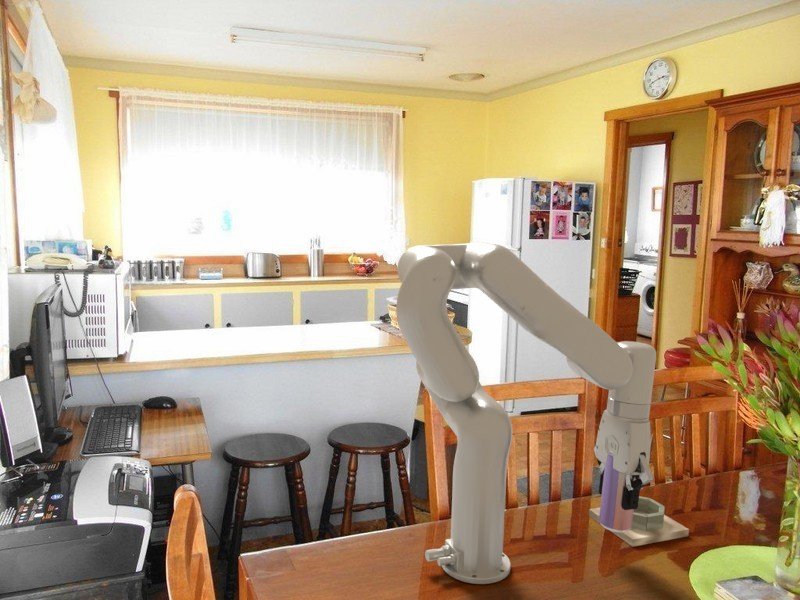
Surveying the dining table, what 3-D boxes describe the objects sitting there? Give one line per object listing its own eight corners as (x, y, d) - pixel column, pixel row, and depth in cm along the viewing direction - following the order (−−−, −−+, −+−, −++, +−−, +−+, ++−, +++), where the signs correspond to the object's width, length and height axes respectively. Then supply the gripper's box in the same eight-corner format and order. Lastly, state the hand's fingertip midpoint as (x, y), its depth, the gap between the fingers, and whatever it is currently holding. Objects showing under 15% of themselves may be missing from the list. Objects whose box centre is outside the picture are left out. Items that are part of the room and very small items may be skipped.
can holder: (632, 546, 129) (634, 525, 128) (588, 515, 142) (590, 495, 141) (688, 536, 134) (690, 515, 133) (640, 507, 147) (642, 488, 146)
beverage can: (595, 527, 123) (604, 450, 121) (601, 516, 128) (610, 442, 126) (628, 536, 120) (637, 458, 118) (633, 524, 125) (642, 449, 124)
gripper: (582, 396, 128) (573, 484, 130) (644, 424, 112) (632, 523, 114) (614, 395, 131) (604, 481, 133) (678, 422, 115) (666, 519, 117)
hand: (617, 500), depth 124 cm, fingers closed on beverage can, 6 cm apart
